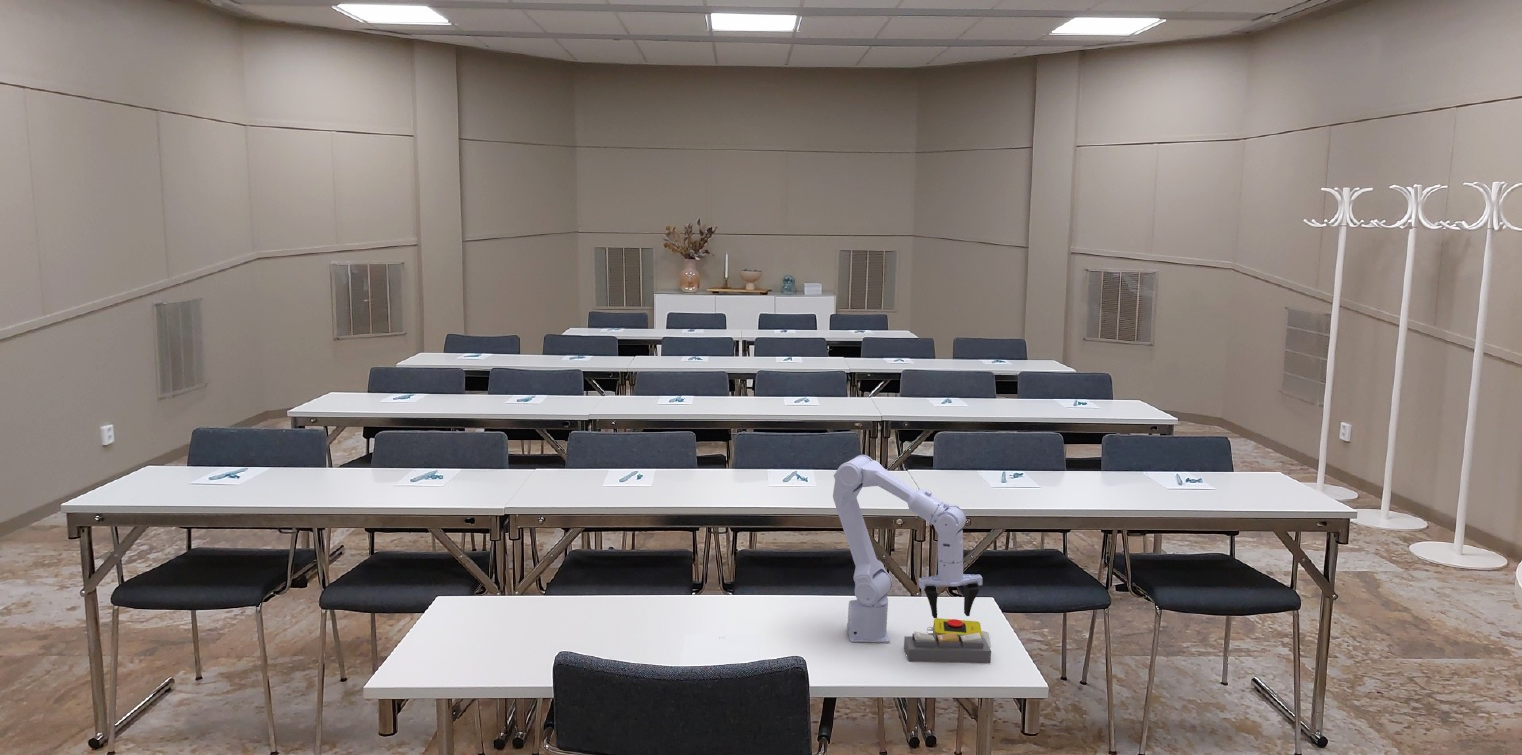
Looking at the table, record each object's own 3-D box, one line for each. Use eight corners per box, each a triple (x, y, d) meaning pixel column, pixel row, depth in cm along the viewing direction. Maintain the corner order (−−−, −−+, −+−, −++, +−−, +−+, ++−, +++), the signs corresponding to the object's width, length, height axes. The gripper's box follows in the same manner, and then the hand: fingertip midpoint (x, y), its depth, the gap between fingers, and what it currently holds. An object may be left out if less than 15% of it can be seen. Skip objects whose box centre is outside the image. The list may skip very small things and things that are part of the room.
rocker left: (915, 640, 247) (916, 636, 247) (913, 635, 250) (914, 631, 250) (933, 644, 248) (935, 640, 247) (931, 639, 250) (932, 635, 250)
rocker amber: (939, 644, 248) (939, 640, 247) (937, 639, 250) (937, 635, 250) (958, 641, 248) (957, 637, 247) (956, 636, 250) (955, 631, 250)
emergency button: (928, 612, 265) (989, 617, 263) (926, 629, 265) (988, 634, 264) (928, 627, 256) (992, 633, 254) (927, 645, 256) (991, 650, 254)
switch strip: (908, 661, 246) (909, 644, 245) (903, 648, 253) (904, 631, 252) (990, 663, 246) (991, 645, 246) (983, 649, 253) (984, 632, 252)
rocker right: (963, 645, 248) (962, 640, 248) (960, 639, 250) (960, 635, 250) (982, 641, 248) (981, 637, 247) (979, 636, 250) (978, 632, 250)
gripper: (923, 567, 242) (924, 624, 244) (986, 563, 243) (986, 620, 245) (916, 557, 248) (917, 612, 251) (977, 553, 250) (977, 609, 252)
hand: (950, 615), depth 248 cm, fingers open, 7 cm apart
